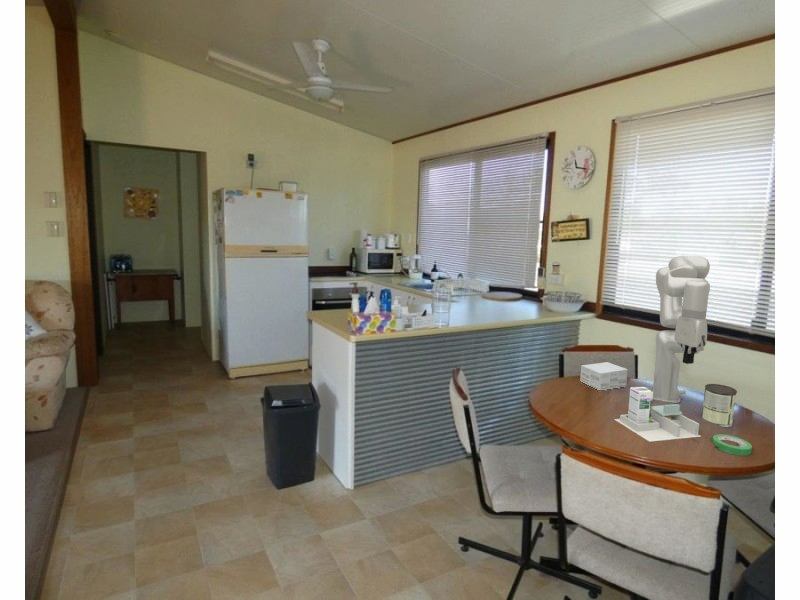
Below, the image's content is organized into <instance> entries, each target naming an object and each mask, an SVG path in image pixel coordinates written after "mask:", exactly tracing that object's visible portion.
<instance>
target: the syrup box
mask: <svg viewBox="0 0 800 600" xmlns="http://www.w3.org/2000/svg"><path fill="white" fill-rule="evenodd" d="M628 400H629V401H628V411H627V414H628V418H629V419H631V420H632V421H634V422H636V423H637V424H643V423H651V412H652V406H653V401H654V400H653V389H652V390H651V389H649V388H648V387H645V386H635V387H634V386H631V387H630V388H629V399H628Z"/></svg>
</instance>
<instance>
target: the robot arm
mask: <svg viewBox="0 0 800 600" xmlns="http://www.w3.org/2000/svg"><path fill="white" fill-rule="evenodd" d="M710 267H711V266H710V262H709V260H708V259H707V258H706V257H704V256H688V255H687V256H686V255H680V256H675V257H673V258H671V259H670V260H669V262H668V265H667V266H664V267H660V268H659V269H658V270H657V271H656V273H655V284H656V288H657V290H658V294H659V298H660V301H659V302H660V305H659V306H660V307H659V308H660V309H659V322H660V324H661V326H662V327H664V328H670V330H669V329H667V330H665V329H664V330H660V331H658V332H657V333H656V335H655V363H654V364H655V365H654V373H653V382H652V391H653V401H656V402H666V403H667V402H668V403H671V404H679V403H680V402H681V397H679V396H681V395H686V394H687V392H686V390H684V389H683V390H682V389H681V390H680V389H678V387H679V378H680V371H681V370H680V369H681V361H680V359H679V358H678V356H677V355H676V354H682V355H683V356H682V363H683V364H686V365H690V364H694V362H695V361H694V360H695V355H697V354H700V353H701V352H704V351H705V350H704V349H705V346H706V345H707V342H708V341H707V340H708V322H707V321H708V320H707V313H708V312H707V311H708V303H709V296H710V295H709V294H710V292H711V291H710V290H711V285H710V282H709V281H708V279H706V278H707V276H708V275H709V272H710ZM671 329H675V330H671Z"/></svg>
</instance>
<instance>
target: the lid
mask: <svg viewBox="0 0 800 600" xmlns="http://www.w3.org/2000/svg"><path fill="white" fill-rule="evenodd" d="M680 408H681V405H680V404H679V403H675V404H674V403H671V404H662V405H652V411H654V412H656V413H658V414H660V415H662V416H668V415H680V414H681V415H683V412H682V411H681V410H680Z"/></svg>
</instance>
